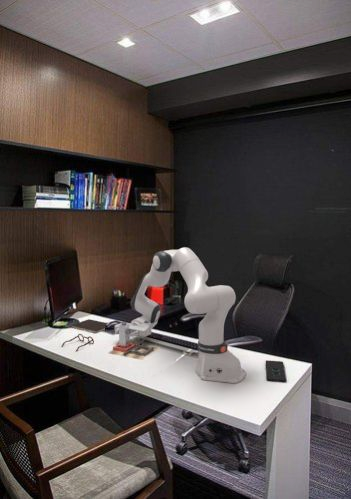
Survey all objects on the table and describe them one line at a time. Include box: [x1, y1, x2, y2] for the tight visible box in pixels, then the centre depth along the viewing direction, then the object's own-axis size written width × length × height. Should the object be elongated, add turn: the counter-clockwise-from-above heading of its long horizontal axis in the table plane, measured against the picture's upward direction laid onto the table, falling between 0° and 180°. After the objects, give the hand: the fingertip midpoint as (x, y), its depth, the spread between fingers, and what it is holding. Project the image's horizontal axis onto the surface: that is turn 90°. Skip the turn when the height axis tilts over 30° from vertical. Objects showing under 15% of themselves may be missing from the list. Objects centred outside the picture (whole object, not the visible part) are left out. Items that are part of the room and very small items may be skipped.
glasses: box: [60, 333, 95, 353], centre depth 203 cm, size 13×13×5 cm
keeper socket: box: [112, 342, 136, 352], centre depth 193 cm, size 9×9×2 cm
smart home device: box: [265, 360, 287, 384], centre depth 164 cm, size 8×2×20 cm
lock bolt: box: [118, 321, 131, 349], centre depth 193 cm, size 4×4×14 cm
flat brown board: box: [107, 341, 161, 361], centre depth 190 cm, size 21×18×3 cm
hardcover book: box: [70, 318, 108, 334], centre depth 236 cm, size 16×23×2 cm
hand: (123, 333), depth 192 cm, fingers open, 8 cm apart
